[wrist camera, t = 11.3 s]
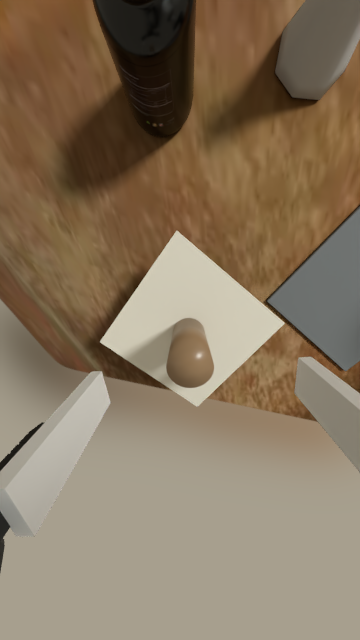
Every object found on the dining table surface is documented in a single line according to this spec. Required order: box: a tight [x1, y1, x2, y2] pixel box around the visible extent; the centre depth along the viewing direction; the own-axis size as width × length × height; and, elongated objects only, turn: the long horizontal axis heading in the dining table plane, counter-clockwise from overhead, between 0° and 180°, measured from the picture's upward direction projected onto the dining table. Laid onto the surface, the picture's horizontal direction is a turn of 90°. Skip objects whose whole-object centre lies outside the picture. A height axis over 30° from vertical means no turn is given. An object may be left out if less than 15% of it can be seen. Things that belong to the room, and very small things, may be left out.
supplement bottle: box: [93, 0, 196, 137], centre depth 13 cm, size 7×7×12 cm
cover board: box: [100, 231, 285, 407], centre depth 17 cm, size 15×15×8 cm
